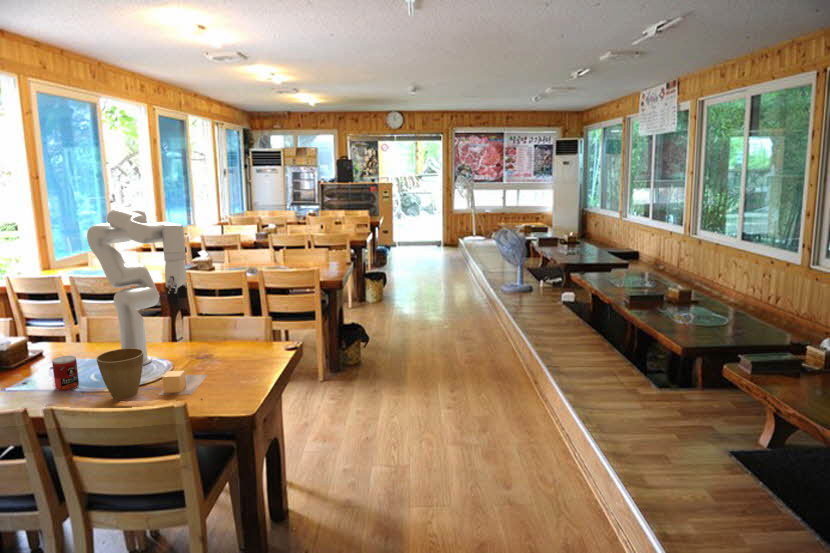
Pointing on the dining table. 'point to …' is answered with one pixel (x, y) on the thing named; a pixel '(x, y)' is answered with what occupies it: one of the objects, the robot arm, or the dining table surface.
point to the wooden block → (174, 381)
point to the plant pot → (121, 371)
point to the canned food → (65, 372)
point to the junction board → (188, 385)
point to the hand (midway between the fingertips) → (178, 300)
